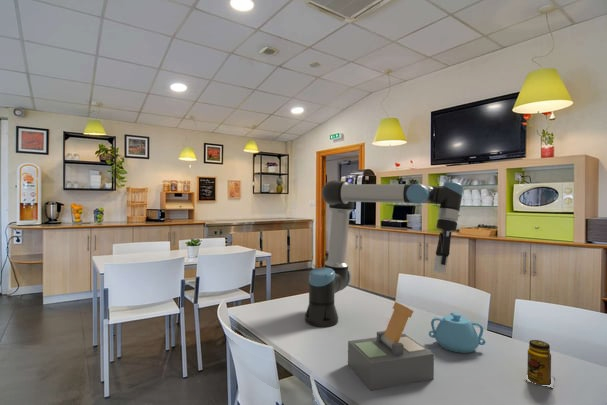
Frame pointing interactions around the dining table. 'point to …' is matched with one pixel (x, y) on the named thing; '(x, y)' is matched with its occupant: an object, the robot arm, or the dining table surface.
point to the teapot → (457, 333)
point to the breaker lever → (396, 324)
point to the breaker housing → (390, 362)
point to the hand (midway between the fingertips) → (438, 272)
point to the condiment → (539, 363)
